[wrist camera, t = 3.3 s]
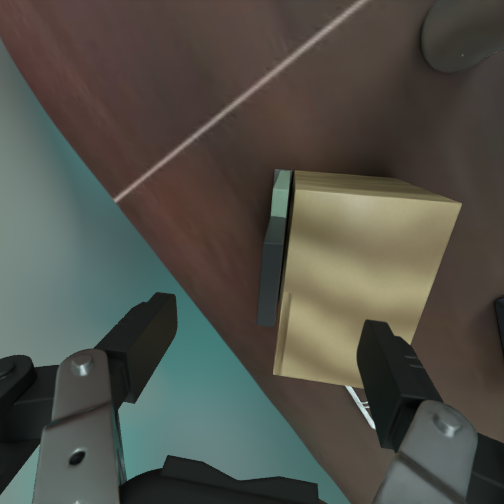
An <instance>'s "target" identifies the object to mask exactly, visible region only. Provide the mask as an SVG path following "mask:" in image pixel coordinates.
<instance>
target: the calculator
mask: <svg viewBox="0 0 504 504" xmlns="http://www.w3.org/2000/svg"><path fill="white" fill-rule="evenodd" d="M495 306H496V311H497V317H498V322H499V328H500V333H501V338H502V344H503V349H504V298H500V299H498V300H496V302H495Z"/></svg>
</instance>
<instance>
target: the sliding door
mask: <svg viewBox="0 0 504 504" xmlns="http://www.w3.org/2000/svg"><path fill="white" fill-rule="evenodd" d="M289 183H290V171H282V170H281V171H280V173H279V176H278V178H277V181H276V183H275V186H274V188H273V195H272V207H271V217H270V220H269V224H268V227H267V231H266V234H265V238H264V241H263V249H262V261H261V273H260V286H259V298H258V311H257V325H261V326H268V327H274V324H275V315H276V306H277V297H278V288H279V279H280V270H281V261H282V253H283V243H284V232H285V221H286V212H287V203H288V194H289Z"/></svg>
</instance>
